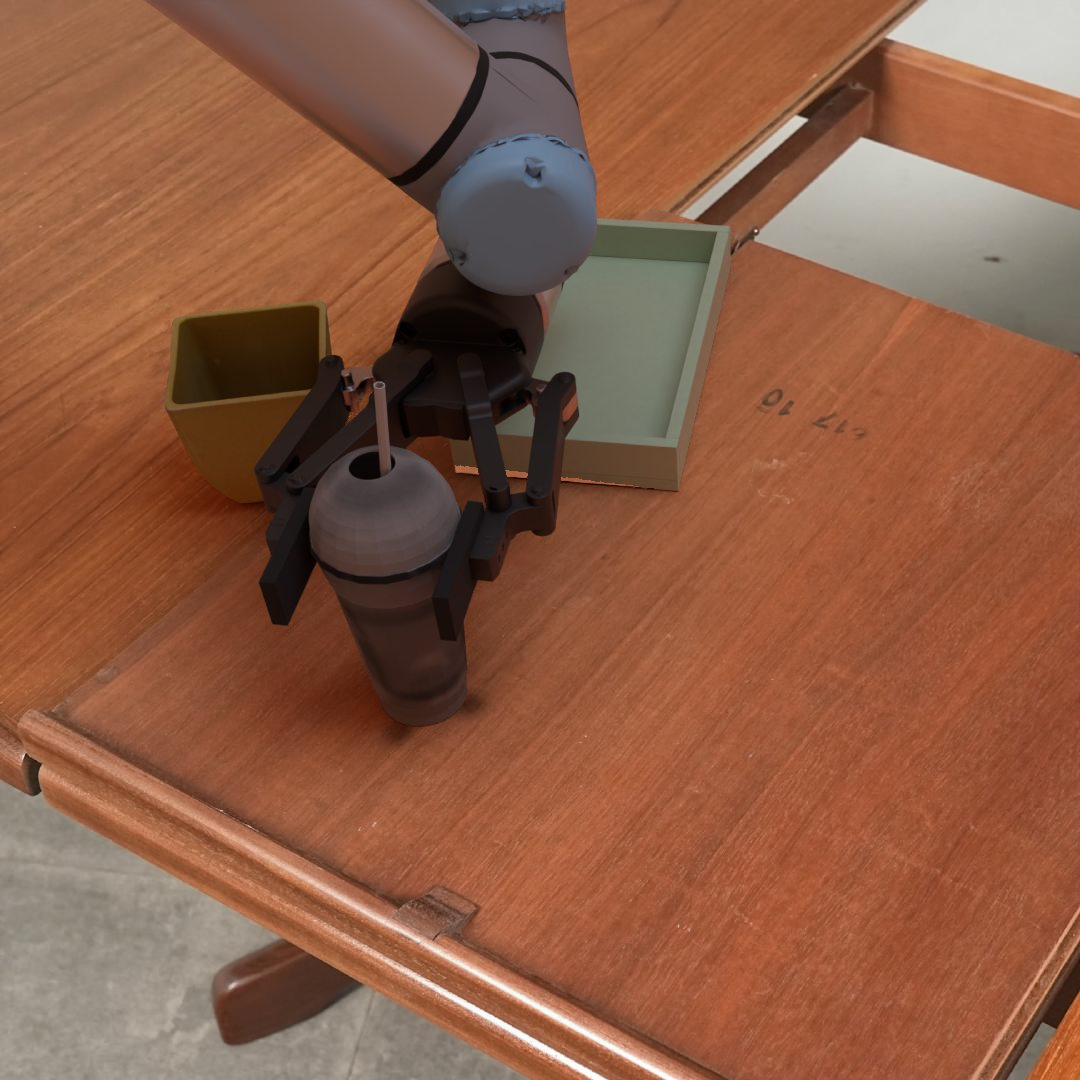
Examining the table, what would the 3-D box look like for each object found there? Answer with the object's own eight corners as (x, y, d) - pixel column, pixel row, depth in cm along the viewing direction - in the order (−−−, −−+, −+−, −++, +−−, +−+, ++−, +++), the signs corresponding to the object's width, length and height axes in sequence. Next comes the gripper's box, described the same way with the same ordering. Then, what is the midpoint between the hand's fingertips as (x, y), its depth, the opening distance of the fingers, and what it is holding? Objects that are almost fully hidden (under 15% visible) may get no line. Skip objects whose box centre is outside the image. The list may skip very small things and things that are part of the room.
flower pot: (357, 514, 91) (326, 389, 84) (205, 533, 90) (162, 408, 83) (354, 421, 96) (325, 298, 90) (212, 438, 96) (172, 315, 89)
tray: (678, 491, 91) (676, 447, 89) (454, 473, 93) (447, 429, 90) (730, 268, 107) (730, 225, 104) (538, 256, 108) (533, 213, 106)
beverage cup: (381, 635, 84) (304, 323, 69) (510, 653, 83) (459, 340, 68) (334, 735, 79) (239, 424, 64) (470, 756, 78) (405, 444, 63)
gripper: (663, 386, 86) (584, 688, 71) (316, 361, 89) (168, 649, 74) (658, 268, 81) (570, 570, 66) (287, 245, 83) (121, 531, 68)
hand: (358, 611), depth 70 cm, fingers closed on beverage cup, 7 cm apart
